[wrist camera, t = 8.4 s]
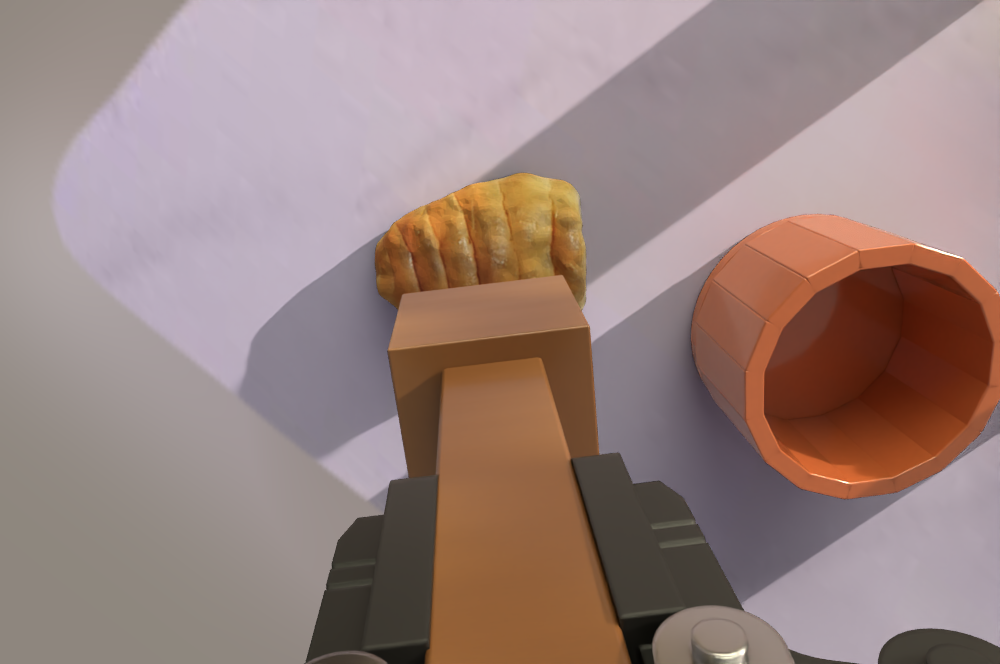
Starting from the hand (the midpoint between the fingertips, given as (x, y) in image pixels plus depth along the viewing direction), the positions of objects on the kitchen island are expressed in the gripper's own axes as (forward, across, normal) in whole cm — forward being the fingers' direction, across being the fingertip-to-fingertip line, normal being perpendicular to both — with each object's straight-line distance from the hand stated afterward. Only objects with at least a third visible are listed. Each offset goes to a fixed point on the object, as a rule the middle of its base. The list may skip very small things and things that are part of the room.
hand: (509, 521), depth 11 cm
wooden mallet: (+8, 0, 0) cm, 8 cm away
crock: (+24, -15, +6) cm, 29 cm away
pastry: (+24, -1, +1) cm, 24 cm away
